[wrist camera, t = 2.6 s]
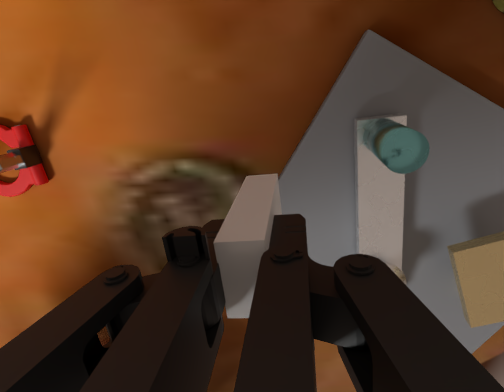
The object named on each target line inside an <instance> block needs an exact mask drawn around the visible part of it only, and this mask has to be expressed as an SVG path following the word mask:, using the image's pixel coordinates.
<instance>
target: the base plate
mask: <svg viewBox="0 0 504 392" xmlns="http://www.w3.org/2000/svg"><path fill="white" fill-rule="evenodd" d="M399 113H401V114H404V115H407V127H409V128H411V129H414V130H416V131H418V132H420V133H422V134H423V135H424V136H425V137H426V139H427V140H428V143H429V149H430V150H429V155H428V158H427V160H426V162H425V163H424V164H423V165H422V166H421V167H420V168H419V169H417V170H415V171H413V172H411V173H406V174H405V187H404V217H403V247H402V271H403V273H404V275H405V277H406V281H407V284H406V286H407V287H408V288H409V289H410V290H411V291H412V292H413V293H414V294H415V295H416V296H417V297H418V298H419V299H420V300H421V301H422V303H423V304H424V305H425V306H426V307H427V308H428V309H429V310H430V311H431V312H432V313H433V314H434V315H435V316H436V317H437V318H438V319H439V320H440V322H441V323H442V324H443V325H444V326H445V327H446V328H447V329H448V330H449V331H450V332H451V333H452V334H453V335H454V336H455V337H456V338H457V339H458V341H459V342H460V343H461V344H462V345H463V346H464V347H465V348H466V349H467V350H468V351H469V352H470V353H471V354H472V353H473V352H474V351H475V350H476V349H477V348H479V347H480V346H481V345H482V344H483V343H484V342H485V341H486V340H488V339H489V338H490V337H491V336H492V335H493V334H494V333H495V332H497V331H498V330H499V329H500V328H501V327H502V326H503V325H504V321H503V322H498V323H493V324H489V325H484V326H479V327H474V328H471V327H470V326H469V324H468V323H467V321H466V320H465V317H464V313H463V309H462V305H461V301H460V297H459V293H458V289H457V285H456V281H455V277H454V273H453V269H452V264H451V260H450V256H449V252H448V248H447V246H449V245H453V244H457V243H461V242H465V241H469V240H472V239H476V238H480V237H484V236H488V235H491V234H495V233H499V232H503V231H504V109H503V108H501V107H500V106H498V105H496V104H495V103H493V102H491V101H490V100H488V99H486V98H484V97H483V96H481V95H479V94H478V93H476V92H474V91H473V90H471V89H469V88H468V87H466V86H464V85H462V84H461V83H459V82H457V81H456V80H454V79H452V78H451V77H449V76H447V75H446V74H444V73H442V72H440V71H439V70H437V69H435V68H434V67H432V66H430V65H429V64H427V63H425V62H424V61H422V60H420V59H418V58H417V57H415V56H413V55H412V54H410V53H408V52H407V51H405V50H403V49H402V48H400V47H398V46H396V45H395V44H393V43H391V42H390V41H388V40H386V39H385V38H383V37H381V36H380V35H378V34H376V33H374V32H373V31H371V30H369V29H368V30H367V31H365V33H364V34H363V36H362V38H361V39H360V41H359V43H358V44H357V46H356V48H355V49H354V51H353V53H352V54H351V56H350V58H349V60H348V61H347V63H346V65H345V66H344V68H343V70H342V71H341V73H340V75H339V76H338V78H337V80H336V81H335V83H334V85H333V86H332V88H331V90H330V92H329V93H328V95H327V97H326V98H325V100H324V102H323V103H322V105H321V107H320V108H319V110H318V112H317V113H316V115H315V117H314V119H313V120H312V122H311V124H310V125H309V127H308V129H307V130H306V132H305V134H304V135H303V137H302V139H301V140H300V142H299V144H298V146H297V147H296V149H295V151H294V152H293V154H292V156H291V157H290V159H289V161H288V162H287V164H286V166H285V167H284V169H283V171H282V173H281V174H280V176H279V178H278V183H279V193H280V202H281V212H282V215H284V214H301V215H302V216H303V217H304V218H305V219H306V232H307V245H308V256H309V257H310V258H311V259H312V260H313V261H315V262H317V263H319V264H322V265H326V266H332V267H333V266H334V264H335V262H336V261H337V260H338V259H340V258H341V257H343V256H347V255H351V254H356V205H355V155H354V118H363V117H372V116H381V115H390V114H399Z"/></svg>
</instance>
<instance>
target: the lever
mask: <svg viewBox="0 0 504 392" xmlns="http://www.w3.org/2000/svg"><path fill="white" fill-rule="evenodd" d="M429 150H430V149H429V143H428V140H427V139H426V137H425V136H424V135H423V134H422V133H420V132H418V131H416V130H414V129H411V128H409V127H407V115H404V114H401V113H399V114H390V115H381V116H372V117H363V118H354V155H355V205H356V254H366V255H370V256H373V257H376V258H379V259H380V260H381V261H383V262H384V263H386V265H387V266H388V267H389V268H390V269H391V270H392V271H393V272H394V273H395V274H396V275H397V276H398V277H399V278H400V279H401V280H402V281H403V282H404V284H405V285H406V284H407V281H406V277H405V275H404V273H403V271H402V247H403V217H404V187H405V174H406V173H411V172H413V171H415V170H417V169H419V168H420V167H421V166H422V165H423V164H424V163H425V162H426V160H427V158H428V155H429Z"/></svg>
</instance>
